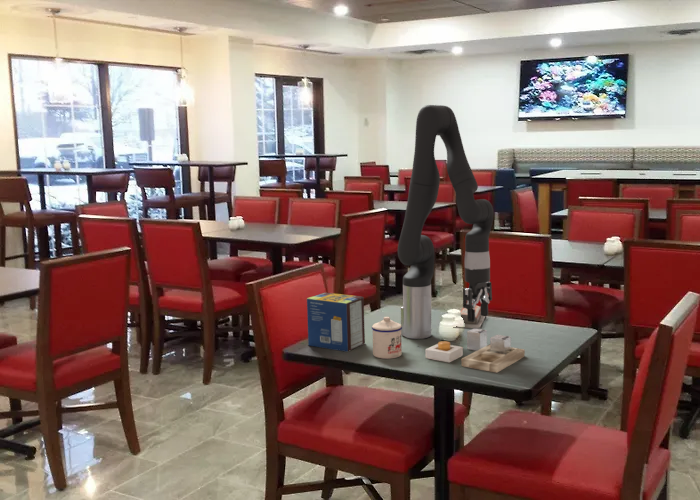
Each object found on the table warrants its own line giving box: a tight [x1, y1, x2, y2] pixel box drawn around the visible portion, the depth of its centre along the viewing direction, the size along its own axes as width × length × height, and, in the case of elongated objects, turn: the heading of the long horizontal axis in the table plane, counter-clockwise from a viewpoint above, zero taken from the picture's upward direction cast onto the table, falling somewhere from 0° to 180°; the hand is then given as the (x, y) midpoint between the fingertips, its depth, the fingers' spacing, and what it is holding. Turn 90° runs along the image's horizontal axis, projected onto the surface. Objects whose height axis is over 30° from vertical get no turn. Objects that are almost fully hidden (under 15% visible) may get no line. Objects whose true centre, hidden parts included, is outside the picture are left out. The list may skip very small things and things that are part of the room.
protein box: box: [306, 292, 366, 353], centre depth 229 cm, size 10×15×16 cm
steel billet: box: [466, 328, 488, 352], centre depth 220 cm, size 4×4×6 cm
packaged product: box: [459, 304, 486, 329], centre depth 255 cm, size 18×5×10 cm
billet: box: [490, 334, 512, 355], centre depth 210 cm, size 4×4×6 cm
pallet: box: [460, 344, 526, 373], centre depth 207 cm, size 11×18×2 cm, turn 143°
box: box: [424, 343, 464, 363], centre depth 212 cm, size 8×8×3 cm
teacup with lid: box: [371, 316, 403, 360], centre depth 218 cm, size 12×9×12 cm
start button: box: [437, 340, 451, 351], centre depth 212 cm, size 4×4×2 cm
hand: (478, 318), depth 219 cm, fingers open, 8 cm apart
